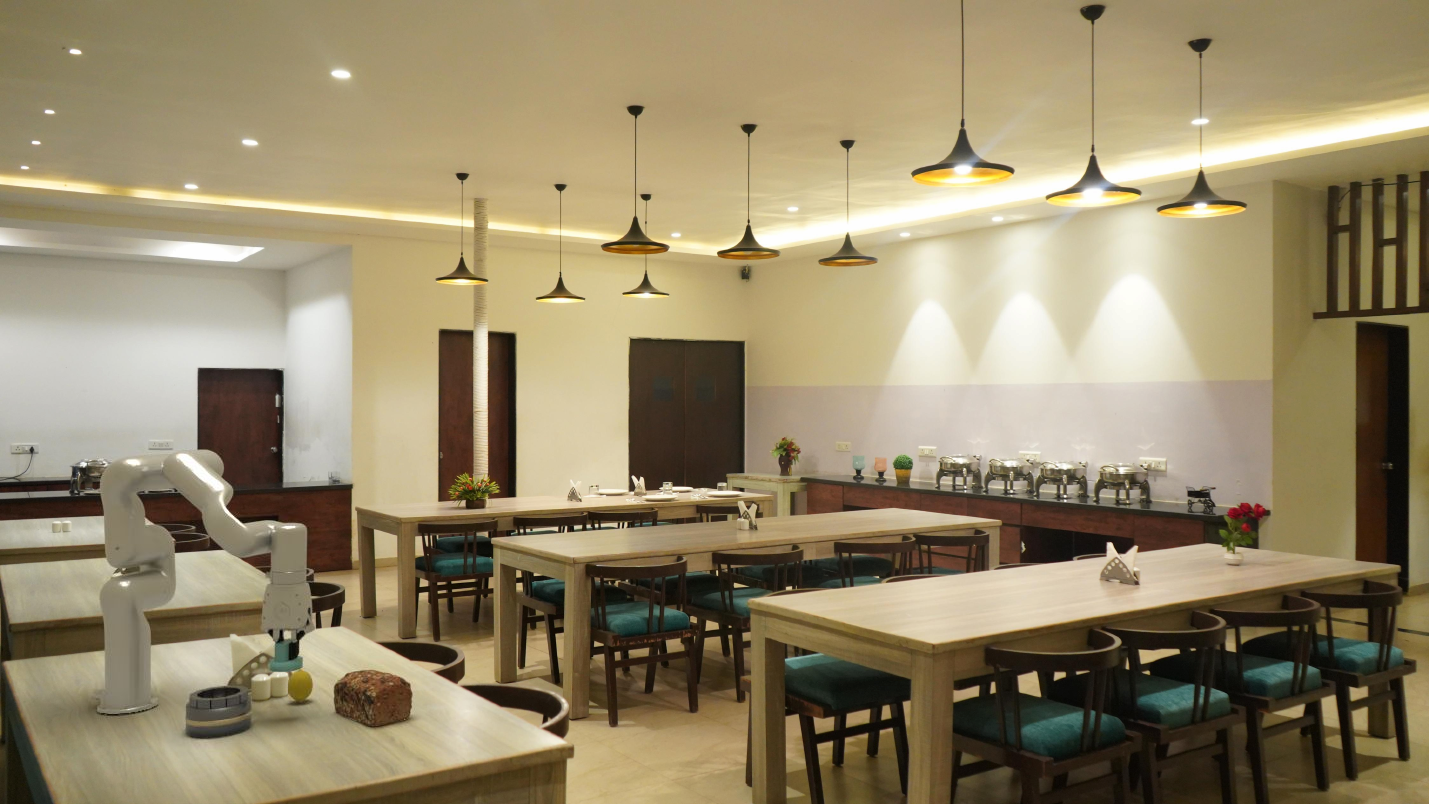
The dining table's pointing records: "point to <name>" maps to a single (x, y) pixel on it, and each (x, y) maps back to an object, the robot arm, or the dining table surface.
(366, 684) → the bread
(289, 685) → the lemon
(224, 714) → the lens barrel
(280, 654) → the teal knob
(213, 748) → the dining table surface
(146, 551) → the robot arm
